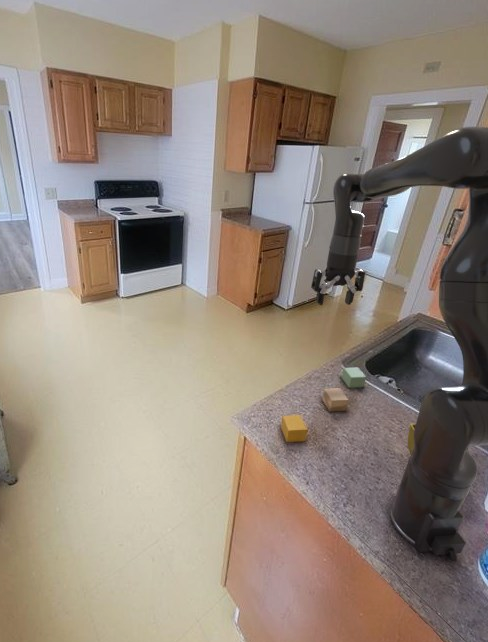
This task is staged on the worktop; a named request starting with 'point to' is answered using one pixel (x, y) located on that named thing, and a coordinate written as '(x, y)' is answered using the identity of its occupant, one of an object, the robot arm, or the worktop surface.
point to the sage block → (353, 377)
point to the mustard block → (293, 428)
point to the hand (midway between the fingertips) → (333, 303)
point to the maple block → (335, 399)
